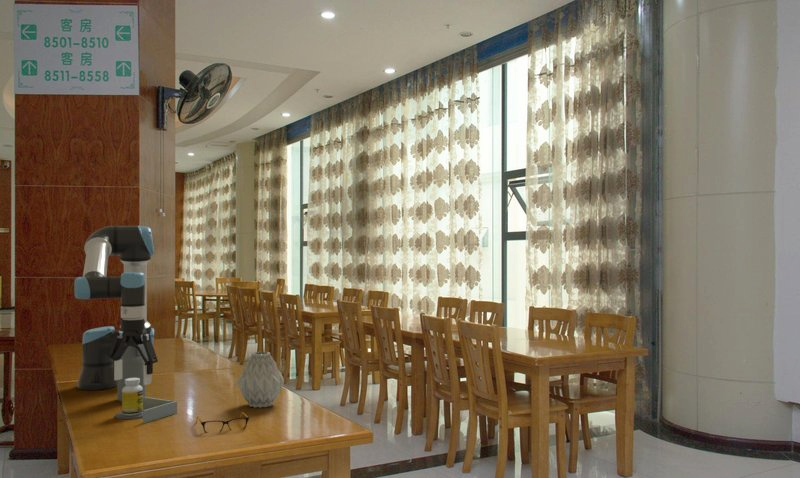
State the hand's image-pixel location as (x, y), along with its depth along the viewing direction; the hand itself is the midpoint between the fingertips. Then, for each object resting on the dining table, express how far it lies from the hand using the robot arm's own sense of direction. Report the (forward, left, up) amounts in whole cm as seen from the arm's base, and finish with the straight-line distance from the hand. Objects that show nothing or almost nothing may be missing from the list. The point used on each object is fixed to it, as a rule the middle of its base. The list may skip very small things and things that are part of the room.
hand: (132, 381), depth 227 cm
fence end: (+11, +1, -11) cm, 16 cm away
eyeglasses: (+36, +3, -12) cm, 38 cm away
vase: (+30, +30, -11) cm, 44 cm away
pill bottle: (0, 0, -11) cm, 11 cm away
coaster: (0, 0, -11) cm, 11 cm away
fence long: (0, +8, -11) cm, 13 cm away
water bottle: (-18, +16, -11) cm, 26 cm away
